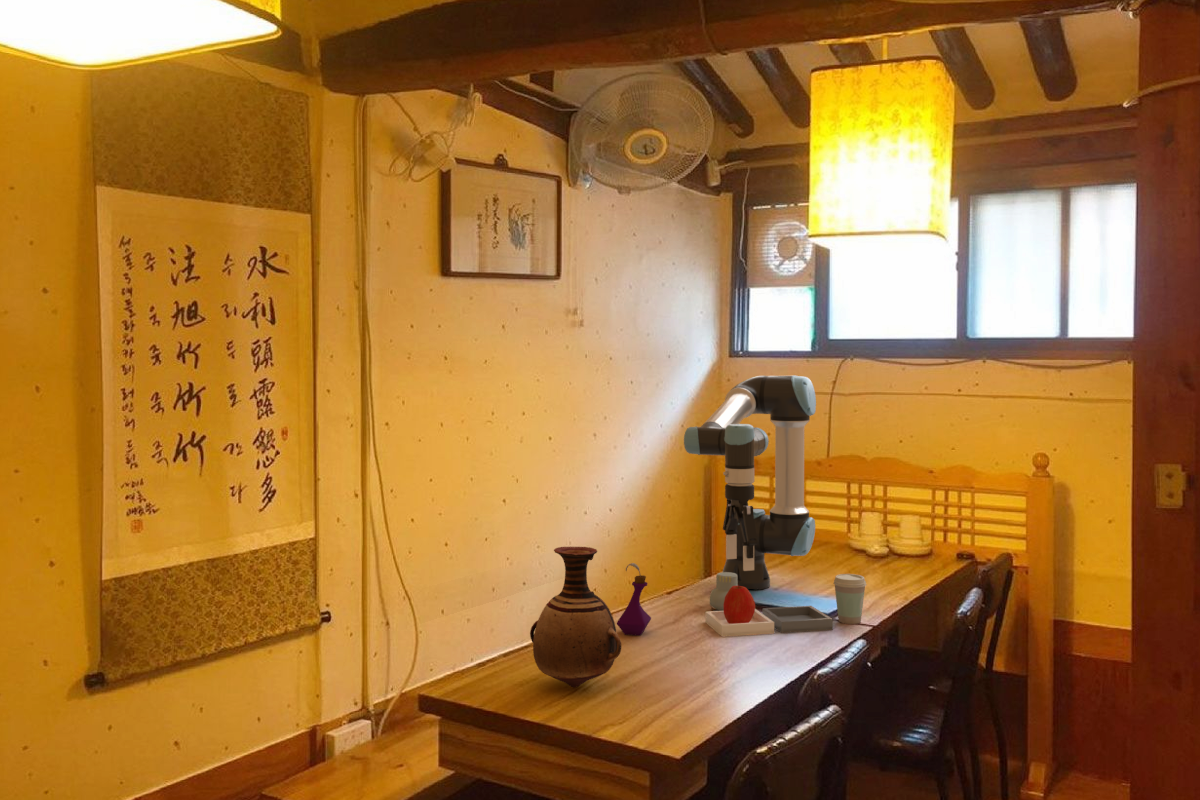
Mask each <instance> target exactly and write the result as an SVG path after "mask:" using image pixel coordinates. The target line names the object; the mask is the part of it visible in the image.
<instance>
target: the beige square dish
mask: <svg viewBox="0 0 1200 800" xmlns="http://www.w3.org/2000/svg"><path fill="white" fill-rule="evenodd" d="M704 618H705V624H707V625H708V626H709V627H710V628H711V629H713V630H714V632H715V633H717V634H718V635H719V636H721V637H723V638H724V637H725V638H726V637H736V636H737V637H739V636H740V637H742V636H753V635H754V636H755V635H756V636H757V635H770V634H771V635H773V634H775V628H774V622H773V621H772V620H770V619H769V618H768V617H766V616H765V615H763V614H762V612H760V611H759V610H758V609H756V608H755V612H754V614H753V617H752V619H751V621H750V622H749V623H736V624H729V623H728V622H727V620H726V618H725V615H724V611H719V610H713V611H711V610H709V611H705V617H704Z"/></svg>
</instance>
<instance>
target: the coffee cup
mask: <svg viewBox="0 0 1200 800" xmlns="http://www.w3.org/2000/svg"><path fill="white" fill-rule="evenodd" d="M833 585H834V590H835V592H834V593H835V599H836V600H835V601H836V609H837V611H836V612H837V619H838V622H839V623H842V624H846V625H847V624H848V625H857V624H860V623H861V622H862V615H863V607H864V598H865V590H866V587H867V582H866V579H865V577H864V576H863V575H861V574H855V573H840V574H837V575H835V578H834V580H833Z"/></svg>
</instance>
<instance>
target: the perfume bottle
mask: <svg viewBox="0 0 1200 800" xmlns="http://www.w3.org/2000/svg"><path fill="white" fill-rule="evenodd" d="M630 566H631V567H633V568H635V569H636V570H637V571H638V572H639V573H638V574H639V575H635V576H634V581H632V583H631V586H633V588H634V590H633V593H632V596H631V599H630V600H629V603H628V605H627V607H626V608H625V609H624V611H623V613H622V614H621V616H620V617H619V619H618V620H617V622H616V625H617V626H618V627H619V630H621V632H622V633H623V634H624V636H625V635H626V636H639V637H640V636H642V634H643V633H644V631H646V628H647V627H648V625H649V623H650V622H651V620H652V617H651V616H650V614H648V612H646V611H645V609H644V608H643V607H642V605H641V602H640V601H641V599H640V598H641V594H642V591H643V590H644V589H645V588H646V587H647V586H648V582H647V581H646V578H647V576H646V575H644V574H643V575H641V572H640V566H638V564H637V563H634V562H631V563H629V564H627V566H626V567H625V572H627V570H628V568H629V567H630Z"/></svg>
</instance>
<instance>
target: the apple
mask: <svg viewBox="0 0 1200 800" xmlns="http://www.w3.org/2000/svg"><path fill="white" fill-rule="evenodd" d="M723 607H724V615H725V618H726V620H727V622H728V623H729V624H736V623H749V622H750V621H751V619H752V617H753V614H754V612H755V609H756V602H755V599H754V597H753V595H752V593H751V592H750V590H748V589H747V588H746V587H743V586H739V584H738V586H732V587H731V588H730V590H729V591H728V593H727V594H726V596H725V600H724V605H723Z"/></svg>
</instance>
